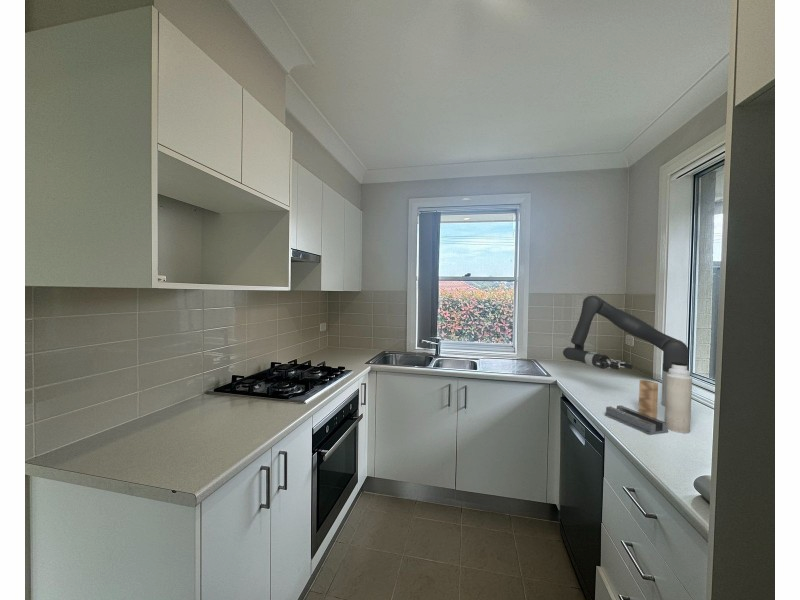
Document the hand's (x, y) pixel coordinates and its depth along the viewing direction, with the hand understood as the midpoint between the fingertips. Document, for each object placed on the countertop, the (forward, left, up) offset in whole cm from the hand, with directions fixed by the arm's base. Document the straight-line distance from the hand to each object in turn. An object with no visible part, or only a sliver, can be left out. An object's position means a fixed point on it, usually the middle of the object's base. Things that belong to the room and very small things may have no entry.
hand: (625, 367), depth 154 cm
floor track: (+9, +19, -20) cm, 29 cm away
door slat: (-3, +11, -20) cm, 23 cm away
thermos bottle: (-5, +24, -20) cm, 32 cm away
